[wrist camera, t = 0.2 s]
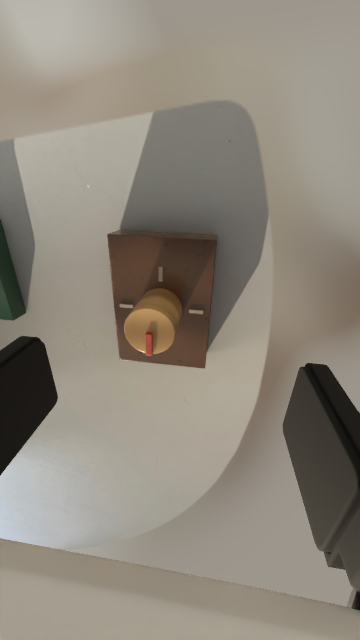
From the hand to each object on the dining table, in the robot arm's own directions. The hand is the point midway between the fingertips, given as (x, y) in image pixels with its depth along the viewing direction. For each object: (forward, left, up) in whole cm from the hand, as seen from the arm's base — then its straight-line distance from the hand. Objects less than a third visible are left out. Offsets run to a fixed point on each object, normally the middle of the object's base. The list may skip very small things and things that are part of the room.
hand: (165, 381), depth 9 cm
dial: (+4, -3, -16) cm, 16 cm away
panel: (+4, -3, -19) cm, 19 cm away
